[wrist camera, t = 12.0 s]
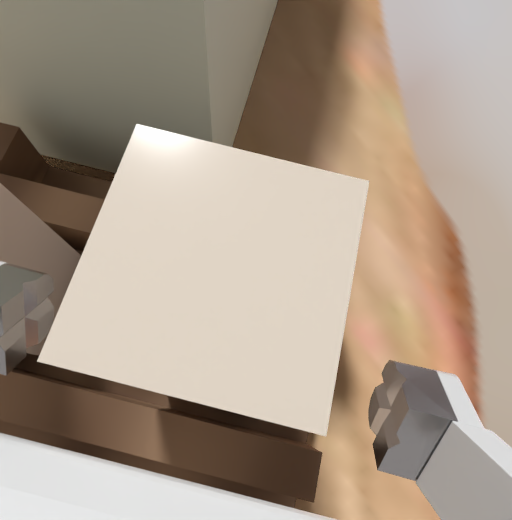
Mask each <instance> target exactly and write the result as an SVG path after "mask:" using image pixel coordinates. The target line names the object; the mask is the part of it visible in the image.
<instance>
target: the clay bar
mask: <svg viewBox="0 0 512 520" xmlns="http://www.w3.org/2000/svg"><path fill="white" fill-rule="evenodd" d="M368 186H369V181H367V180H363V179H359V178H355V177H351V176H347V175H343V174H338V173H334V172H330V171H326V170H322V169H318V168H314V167H310V166H306V165H302V164H298V163H294V162H290V161H286V160H282V159H278V158H274V157H270V156H265V155H261V154H257V153H253V152H249V151H245V150H241V149H237V148H233V147H229V146H225V145H221V144H217V143H213V142H209V141H205V140H201V139H196V138H192V137H188V136H184V135H180V134H176V133H172V132H168V131H164V130H160V129H156V128H152V127H148V126H144V125H140V124H136V127H135V129H134V131H133V134H132V136H131V139H130V141H129V143H128V146H127V148H126V151H125V153H124V155H123V158H122V160H121V162H120V165H119V167H118V170H117V172H116V174H115V177H114V179H113V181H112V184H111V186H110V189H109V191H108V193H107V196H106V198H105V201H104V203H103V205H102V208H101V210H100V212H99V215H98V217H97V220H96V222H95V224H94V227H93V229H92V232H91V234H90V236H89V239H88V241H87V243H86V246H85V248H84V251H83V253H82V255H81V258H80V260H79V262H78V265H77V267H76V270H75V272H74V274H73V277H72V279H71V282H70V284H69V286H68V289H67V291H66V293H65V296H64V298H63V301H62V303H61V305H60V308H59V310H58V313H57V315H56V317H55V320H54V322H53V324H52V327H51V329H50V332H49V334H48V336H47V339H46V341H45V343H44V346H43V348H42V351H41V353H40V355H39V358H38V360H37V362H41V363H45V364H49V365H53V366H57V367H60V368H64V369H68V370H72V371H76V372H80V373H84V374H87V375H91V376H95V377H99V378H103V379H107V380H110V381H114V382H118V383H122V384H126V385H130V386H134V387H137V388H141V389H145V390H149V391H153V392H157V393H160V394H164V395H168V396H172V397H176V398H180V399H184V400H187V401H191V402H195V403H199V404H203V405H207V406H211V407H214V408H218V409H222V410H226V411H230V412H234V413H237V414H241V415H245V416H249V417H253V418H257V419H261V420H264V421H268V422H272V423H276V424H280V425H284V426H288V427H291V428H295V429H299V430H303V431H307V432H311V433H314V434H318V435H322V436H326V435H327V429H328V423H329V417H330V412H331V406H332V400H333V394H334V388H335V382H336V376H337V370H338V364H339V358H340V352H341V346H342V340H343V334H344V328H345V322H346V317H347V311H348V305H349V299H350V293H351V287H352V281H353V275H354V269H355V263H356V257H357V251H358V245H359V239H360V233H361V227H362V221H363V216H364V210H365V204H366V198H367V192H368Z"/></svg>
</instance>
